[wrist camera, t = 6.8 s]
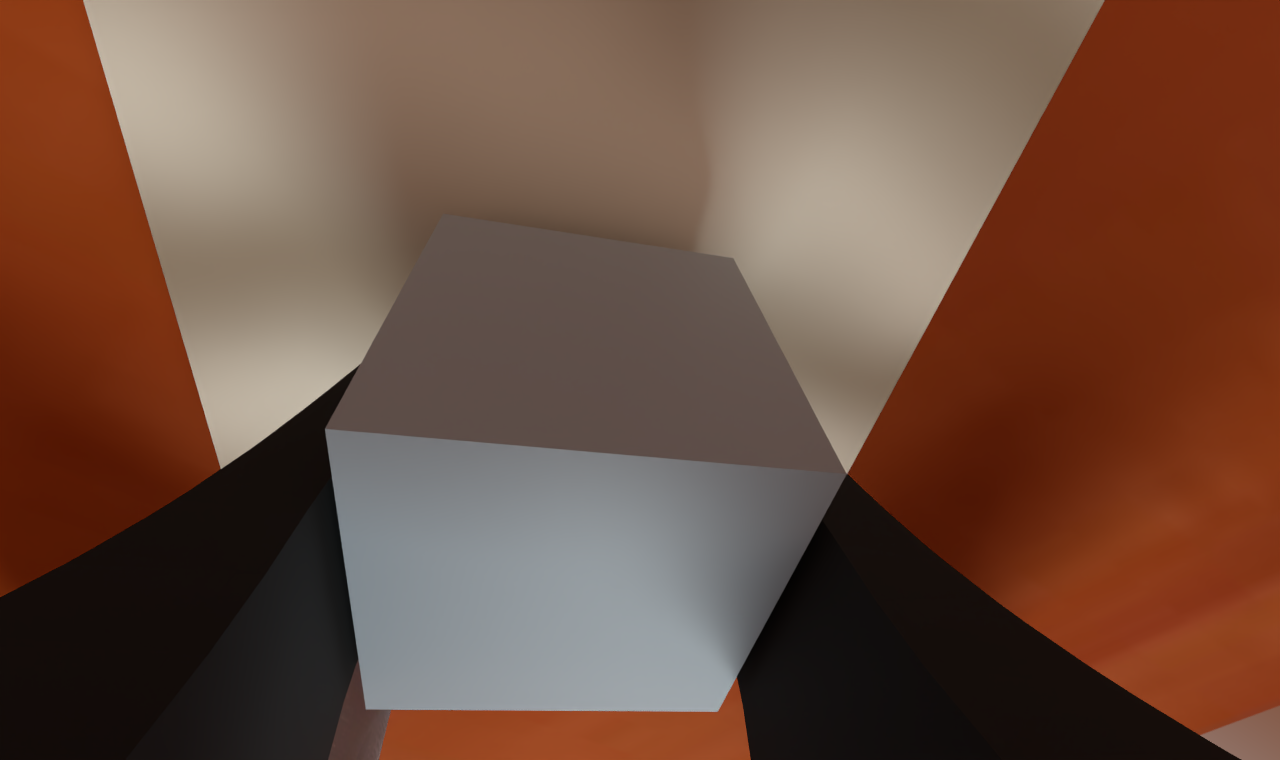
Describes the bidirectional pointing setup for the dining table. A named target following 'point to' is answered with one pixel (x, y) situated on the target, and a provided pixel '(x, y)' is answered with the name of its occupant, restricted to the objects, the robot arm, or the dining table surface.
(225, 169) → the birch base
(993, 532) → the dining table surface
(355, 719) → the pillar candle
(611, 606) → the grey block
